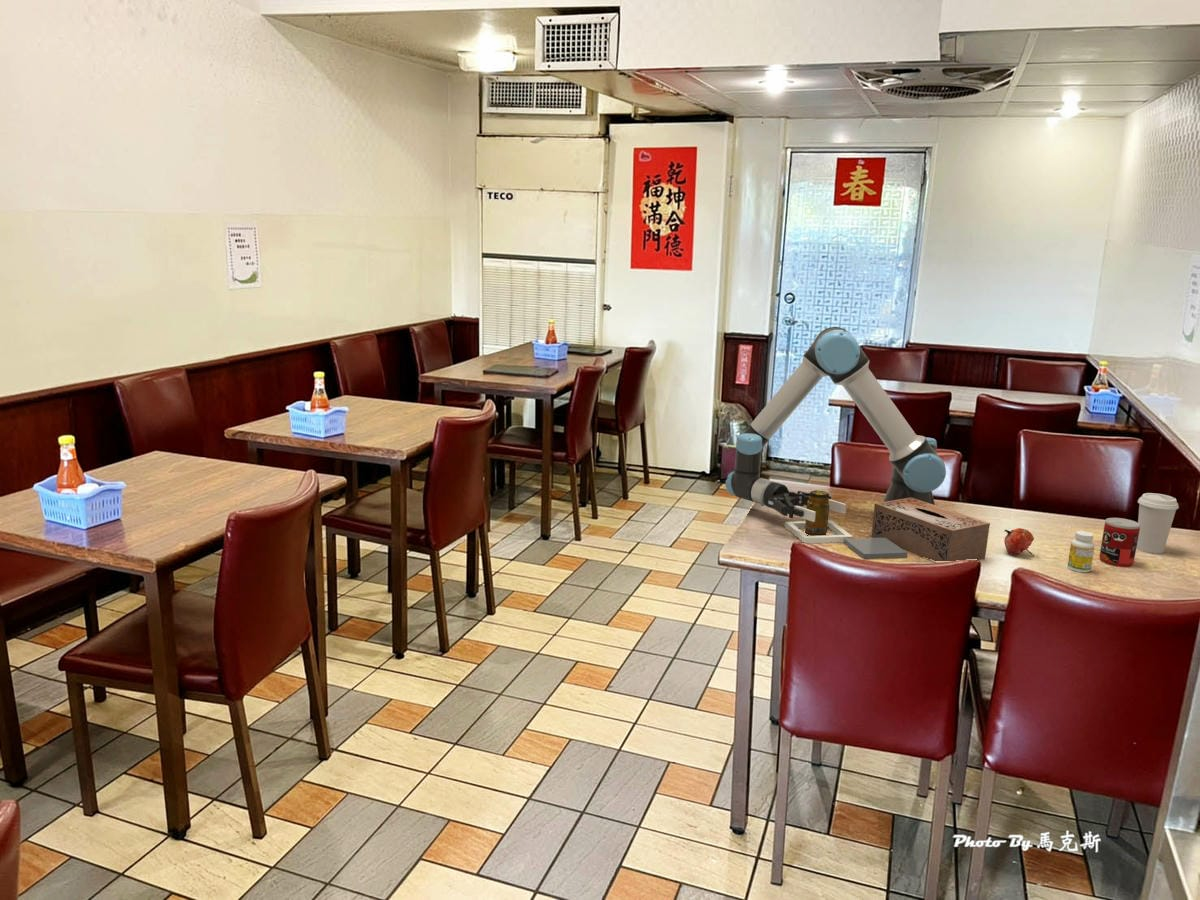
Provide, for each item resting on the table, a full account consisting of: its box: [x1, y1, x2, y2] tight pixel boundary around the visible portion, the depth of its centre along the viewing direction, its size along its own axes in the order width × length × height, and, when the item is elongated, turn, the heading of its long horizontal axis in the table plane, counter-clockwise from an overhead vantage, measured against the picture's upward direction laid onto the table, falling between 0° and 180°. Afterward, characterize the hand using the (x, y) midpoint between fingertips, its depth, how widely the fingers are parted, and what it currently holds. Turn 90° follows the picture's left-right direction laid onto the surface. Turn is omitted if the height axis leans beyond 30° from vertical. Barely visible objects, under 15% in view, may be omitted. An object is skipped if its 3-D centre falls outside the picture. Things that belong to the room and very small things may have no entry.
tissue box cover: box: [870, 497, 991, 561], centre depth 242 cm, size 26×14×10 cm, turn 30°
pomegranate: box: [1003, 527, 1035, 557], centre depth 240 cm, size 7×7×10 cm
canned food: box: [1099, 517, 1140, 568], centre depth 236 cm, size 8×8×11 cm
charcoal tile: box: [843, 537, 908, 560], centre depth 239 cm, size 12×12×1 cm
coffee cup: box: [1136, 492, 1180, 555], centre depth 246 cm, size 10×10×15 cm
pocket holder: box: [784, 520, 854, 544], centre depth 251 cm, size 14×14×2 cm
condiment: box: [804, 489, 835, 536], centre depth 250 cm, size 7×8×12 cm
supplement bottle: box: [1067, 530, 1096, 574], centre depth 230 cm, size 5×5×10 cm
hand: (830, 512), depth 247 cm, fingers open, 12 cm apart
